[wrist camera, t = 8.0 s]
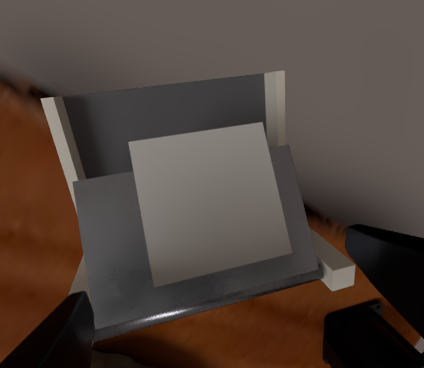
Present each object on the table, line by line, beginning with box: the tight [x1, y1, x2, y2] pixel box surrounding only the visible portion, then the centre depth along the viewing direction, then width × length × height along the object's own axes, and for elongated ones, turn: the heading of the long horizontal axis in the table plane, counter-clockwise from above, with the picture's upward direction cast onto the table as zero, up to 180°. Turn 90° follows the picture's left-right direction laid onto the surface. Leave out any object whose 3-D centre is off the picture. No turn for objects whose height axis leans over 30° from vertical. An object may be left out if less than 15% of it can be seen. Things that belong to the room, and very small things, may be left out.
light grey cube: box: [128, 122, 292, 287], centre depth 12 cm, size 5×5×5 cm
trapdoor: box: [72, 145, 324, 342], centre depth 15 cm, size 8×12×1 cm, turn 96°
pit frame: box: [41, 71, 355, 347], centre depth 16 cm, size 13×16×8 cm
